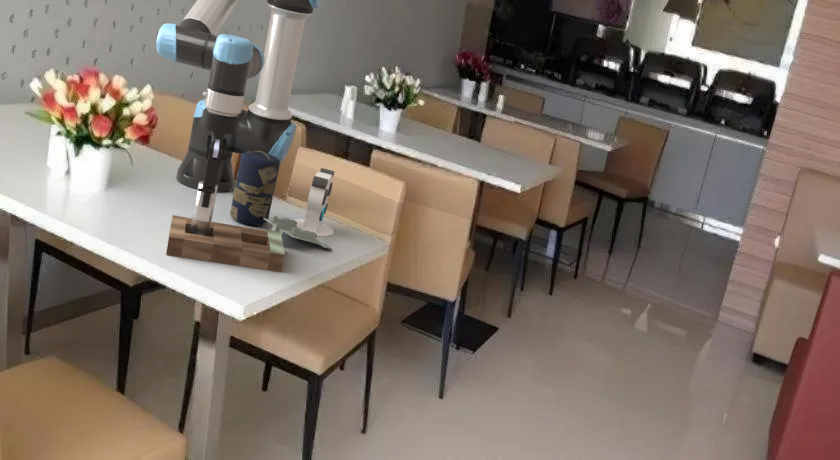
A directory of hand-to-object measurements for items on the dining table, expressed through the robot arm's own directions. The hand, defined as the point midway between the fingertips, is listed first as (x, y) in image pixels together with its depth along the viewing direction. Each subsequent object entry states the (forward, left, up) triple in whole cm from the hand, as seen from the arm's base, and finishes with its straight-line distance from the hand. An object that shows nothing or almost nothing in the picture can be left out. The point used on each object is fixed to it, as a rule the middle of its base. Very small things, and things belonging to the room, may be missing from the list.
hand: (202, 216), depth 177 cm
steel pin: (0, 0, -7) cm, 7 cm away
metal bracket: (-14, +22, -7) cm, 27 cm away
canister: (-24, +12, -7) cm, 28 cm away
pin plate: (0, +6, -7) cm, 9 cm away
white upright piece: (-26, +28, -7) cm, 39 cm away
